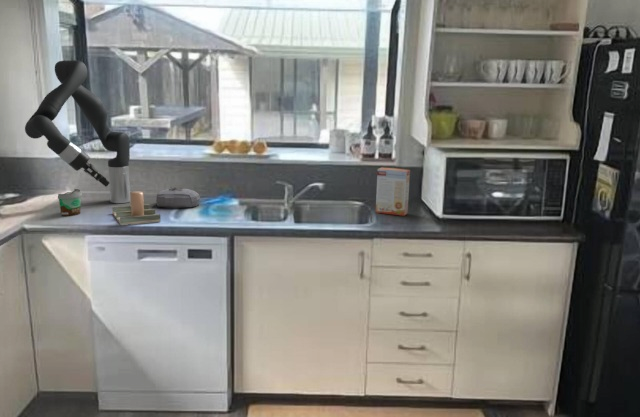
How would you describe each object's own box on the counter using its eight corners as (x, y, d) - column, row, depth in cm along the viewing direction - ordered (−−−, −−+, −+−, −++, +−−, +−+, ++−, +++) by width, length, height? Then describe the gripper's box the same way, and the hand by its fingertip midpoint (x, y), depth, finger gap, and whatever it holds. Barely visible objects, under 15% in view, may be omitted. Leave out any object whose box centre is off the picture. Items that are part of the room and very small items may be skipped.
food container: (72, 218, 241) (70, 194, 239) (59, 216, 242) (57, 194, 240) (89, 211, 253) (87, 189, 250) (76, 210, 254) (75, 188, 252)
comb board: (112, 213, 250) (112, 207, 249) (149, 210, 257) (149, 204, 256) (120, 225, 232) (120, 218, 231) (160, 221, 239) (160, 214, 238)
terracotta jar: (130, 217, 241) (129, 191, 238) (143, 216, 243) (141, 190, 241) (132, 220, 236) (131, 194, 234) (145, 218, 239) (144, 193, 236)
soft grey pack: (153, 208, 262) (197, 209, 262) (153, 190, 260) (196, 191, 260) (161, 201, 276) (203, 202, 277) (161, 184, 274) (202, 185, 275)
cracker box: (407, 213, 264) (410, 169, 259) (404, 216, 259) (407, 171, 254) (379, 210, 270) (381, 166, 265) (375, 212, 265) (377, 168, 260)
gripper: (82, 151, 217) (115, 179, 225) (78, 146, 230) (110, 173, 238) (68, 165, 216) (102, 193, 224) (65, 160, 228) (97, 186, 236)
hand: (106, 182), depth 231 cm, fingers open, 8 cm apart
